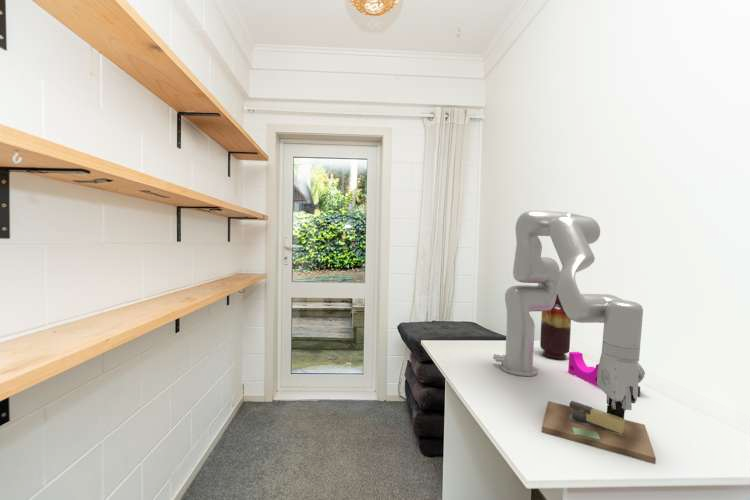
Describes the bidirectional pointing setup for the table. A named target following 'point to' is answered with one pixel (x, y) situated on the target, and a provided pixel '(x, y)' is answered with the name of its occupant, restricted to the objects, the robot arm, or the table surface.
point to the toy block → (582, 368)
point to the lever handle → (596, 417)
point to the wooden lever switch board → (598, 433)
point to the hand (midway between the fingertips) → (614, 422)
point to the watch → (640, 376)
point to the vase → (555, 331)
